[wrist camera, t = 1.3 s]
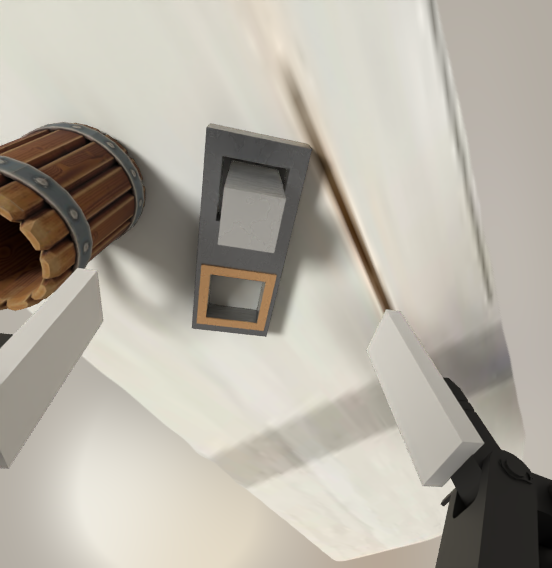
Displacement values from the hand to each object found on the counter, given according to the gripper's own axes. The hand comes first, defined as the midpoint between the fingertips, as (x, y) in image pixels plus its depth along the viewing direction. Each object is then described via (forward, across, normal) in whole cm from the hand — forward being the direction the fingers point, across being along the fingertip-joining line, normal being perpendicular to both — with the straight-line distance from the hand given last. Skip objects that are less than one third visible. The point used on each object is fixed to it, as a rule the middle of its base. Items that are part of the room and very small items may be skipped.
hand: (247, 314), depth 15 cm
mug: (+20, -17, -4) cm, 26 cm away
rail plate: (+20, 0, -6) cm, 21 cm away
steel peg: (+20, 0, 0) cm, 20 cm away
